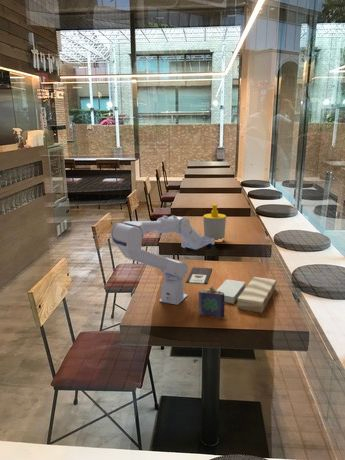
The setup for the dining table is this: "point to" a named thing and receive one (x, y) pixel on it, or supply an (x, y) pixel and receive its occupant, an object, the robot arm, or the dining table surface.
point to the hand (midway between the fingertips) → (207, 252)
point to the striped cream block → (256, 294)
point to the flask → (211, 303)
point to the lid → (231, 290)
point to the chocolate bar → (199, 275)
